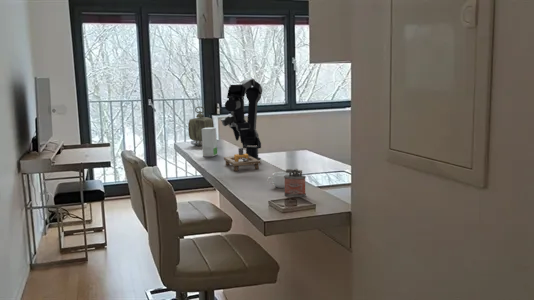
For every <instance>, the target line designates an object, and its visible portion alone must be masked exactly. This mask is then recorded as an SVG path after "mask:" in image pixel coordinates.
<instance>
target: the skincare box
mask: <svg viewBox="0 0 534 300" xmlns="http://www.w3.org/2000/svg"><path fill="white" fill-rule="evenodd" d="M201 130H202V141H201V143H202V144H201V146H202V147H201V148H202V157H206V158H207V157H215V156H218V142H217V141H218V140H217V127H216V126H214V128H203V129H201Z"/></svg>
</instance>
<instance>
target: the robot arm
mask: <svg viewBox="0 0 534 300" xmlns="http://www.w3.org/2000/svg"><path fill="white" fill-rule="evenodd" d="M227 90H228V91H227V95H226V99H227V100H226V101H225V104H224V107H225V110H226V111H228V112H230V115H228V116H225V117H223V118H221V119H220V121H221V124H222V126H224V127H227V126H229V129H231V130H232V131H233V135H234V138H235V141H236V142H237V141H239V139H240V143H241V144H242V148H243V149H245V154H248V155H250V156H252V157H253V158H255V159H257V160H260V159H262V158H261V157H259V149H261V148H262V142H261V139H260V138H259V133H258V131H257V115H258V103H259V101H260V100H261V98H262V95H263V88H262V86H261V84H260V82H257V81H256V79H255V78H253V77H249V78H248V77H246V78H244V79H243V80H241V81H240V82H237V83H231V84H230V85H229V87H228V89H227ZM245 97H246V99H247V101H248V108H247V112H246V111H245ZM246 113H247V120H246V118H245V115H246Z"/></svg>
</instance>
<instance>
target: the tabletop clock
mask: <svg viewBox="0 0 534 300" xmlns="http://www.w3.org/2000/svg"><path fill="white" fill-rule="evenodd" d="M199 108H201V109H203V111H201V110H199V111H197V109H199ZM194 111H195V112H196V113H197V114H196V116H195V118H191V119H189V120H188V123H187V124H188V128H187V129H188V137H189V139H190V140H192V141H195V143H198V142H199V143H198V144H197V145H198V146H199V145H201V146H202V144H201V143H202V130H201V129H203V128H214V127H215V126H214V125H215V124H214V121H213V119H212V118H211V117H205V115H204V113H205V108H204V107H203V106H196V107H195V109H194Z"/></svg>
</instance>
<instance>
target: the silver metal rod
mask: <svg viewBox="0 0 534 300" xmlns="http://www.w3.org/2000/svg"><path fill="white" fill-rule="evenodd" d="M239 158H240V159H239V160H241V161H243V162H247V161H248V158H243V157H239Z"/></svg>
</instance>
